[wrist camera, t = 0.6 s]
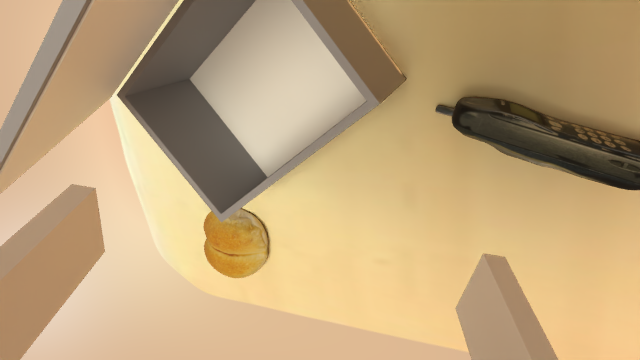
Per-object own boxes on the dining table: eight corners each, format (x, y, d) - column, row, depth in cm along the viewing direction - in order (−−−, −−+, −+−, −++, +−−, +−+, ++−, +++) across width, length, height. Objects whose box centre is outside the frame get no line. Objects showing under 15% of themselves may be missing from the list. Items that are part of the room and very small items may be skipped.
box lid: (241, -87, 23) (232, -97, 23) (106, -32, 12) (86, -50, 12) (111, 98, 33) (103, 92, 33) (-28, 219, 22) (-40, 213, 22)
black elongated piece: (682, 162, 24) (439, 96, 27) (653, 203, 25) (425, 135, 29) (652, 137, 28) (444, 83, 32) (629, 173, 30) (433, 118, 33)
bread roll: (212, 255, 51) (192, 273, 48) (213, 196, 47) (191, 211, 43) (268, 278, 49) (251, 299, 45) (274, 218, 44) (256, 236, 41)
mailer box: (302, -63, 31) (241, -82, 24) (406, 79, 33) (379, 103, 25) (186, 76, 41) (116, 94, 33) (270, 182, 42) (221, 222, 35)
